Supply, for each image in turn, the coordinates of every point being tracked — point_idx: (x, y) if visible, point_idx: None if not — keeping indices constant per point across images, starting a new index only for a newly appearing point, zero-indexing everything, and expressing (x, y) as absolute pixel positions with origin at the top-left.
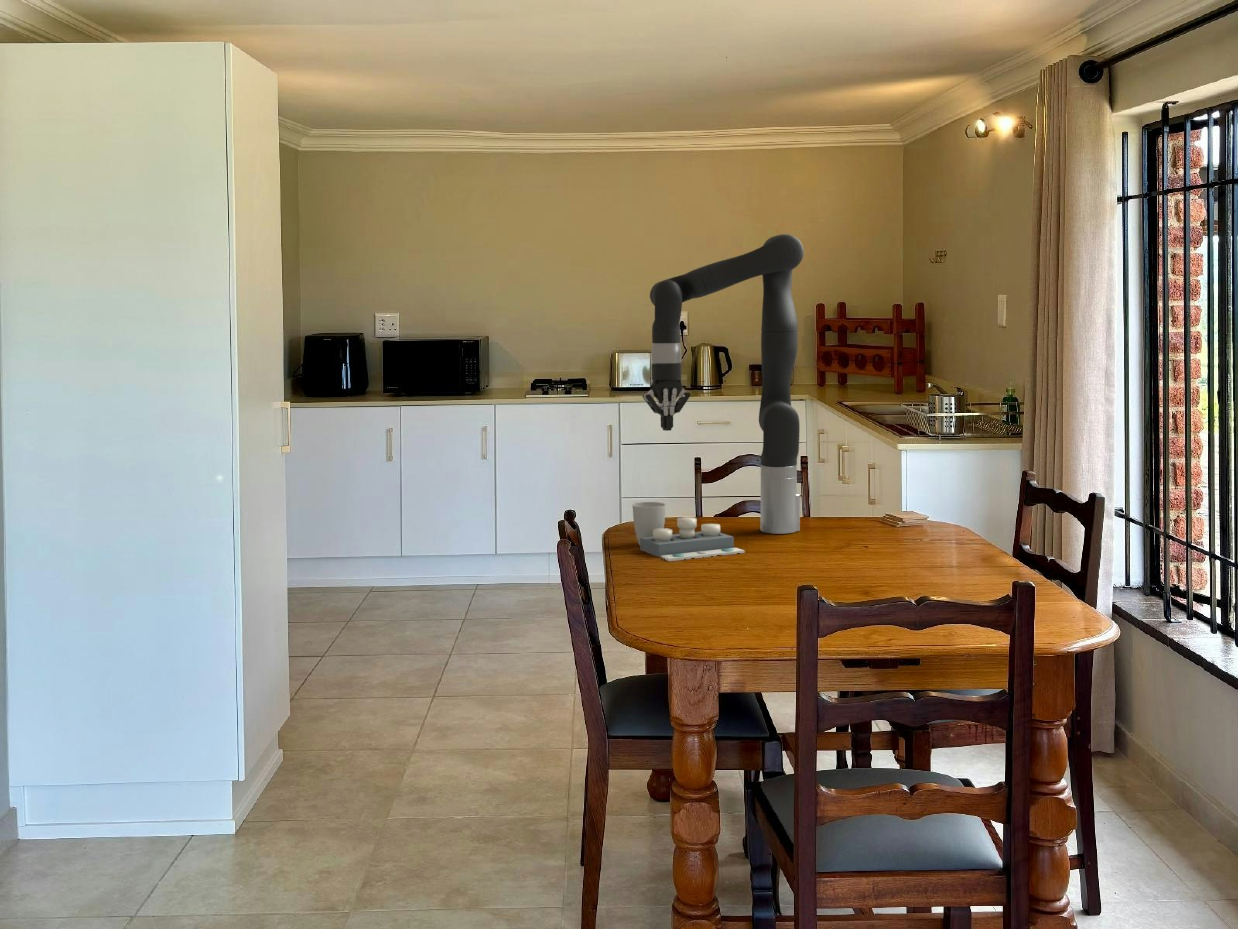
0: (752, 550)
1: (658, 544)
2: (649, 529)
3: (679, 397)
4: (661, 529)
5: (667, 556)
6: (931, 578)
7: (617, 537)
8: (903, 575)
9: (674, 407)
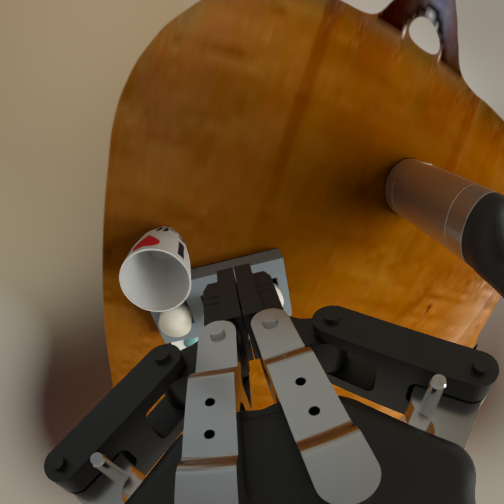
0: (308, 312)
1: (165, 341)
2: (157, 283)
3: (412, 392)
4: (173, 321)
5: (177, 343)
6: (379, 410)
7: (116, 162)
8: (370, 405)
9: (333, 346)
